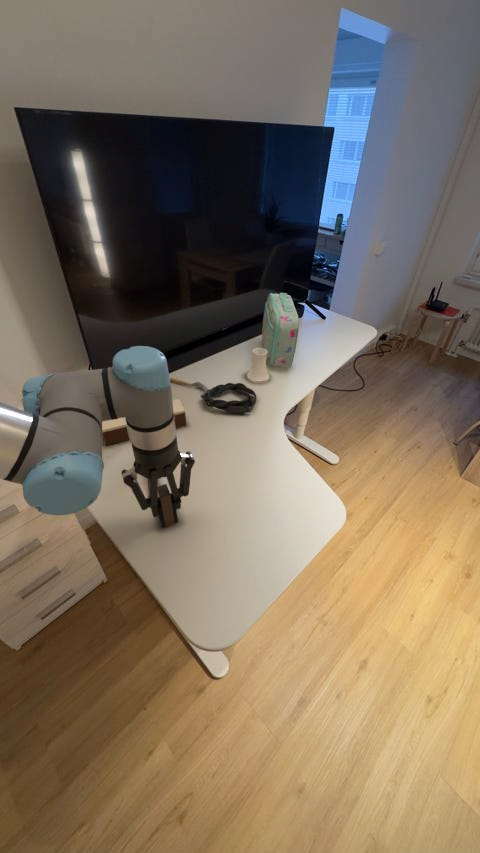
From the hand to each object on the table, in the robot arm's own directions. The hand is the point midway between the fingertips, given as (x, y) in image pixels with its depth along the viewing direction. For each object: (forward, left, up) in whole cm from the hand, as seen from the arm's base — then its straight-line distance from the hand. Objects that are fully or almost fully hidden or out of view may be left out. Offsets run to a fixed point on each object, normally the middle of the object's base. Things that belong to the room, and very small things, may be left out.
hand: (168, 519), depth 73 cm
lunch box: (+58, +56, 0) cm, 81 cm away
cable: (+29, +35, 0) cm, 45 cm away
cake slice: (+11, +32, 0) cm, 33 cm away
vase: (+44, +44, 0) cm, 62 cm away
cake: (-6, +32, 0) cm, 32 cm away
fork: (+19, +49, 0) cm, 52 cm away
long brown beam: (0, +7, 0) cm, 7 cm away
